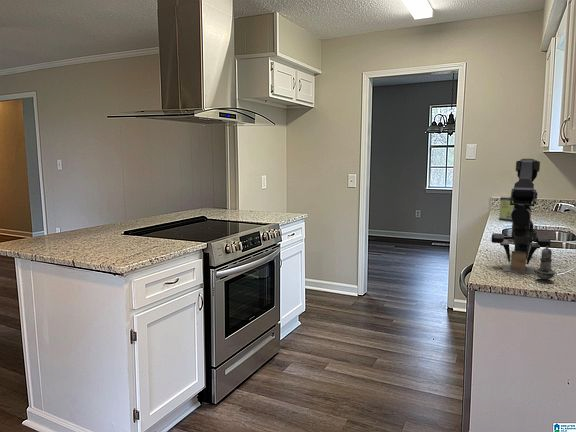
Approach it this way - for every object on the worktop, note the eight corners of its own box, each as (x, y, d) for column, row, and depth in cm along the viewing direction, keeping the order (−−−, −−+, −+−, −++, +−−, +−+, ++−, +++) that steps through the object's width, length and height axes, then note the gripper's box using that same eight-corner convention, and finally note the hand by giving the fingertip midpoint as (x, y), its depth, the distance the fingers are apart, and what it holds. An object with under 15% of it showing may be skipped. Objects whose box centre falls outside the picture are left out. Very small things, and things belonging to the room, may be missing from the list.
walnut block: (510, 266, 165) (511, 250, 165) (524, 267, 164) (525, 251, 163) (511, 269, 161) (512, 253, 161) (525, 270, 160) (526, 254, 159)
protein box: (508, 219, 303) (509, 196, 301) (530, 222, 289) (532, 198, 287) (498, 220, 298) (500, 197, 296) (520, 223, 284) (522, 198, 282)
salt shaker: (547, 279, 150) (550, 244, 149) (558, 283, 144) (561, 247, 143) (530, 279, 150) (533, 244, 148) (540, 284, 144) (543, 247, 142)
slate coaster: (502, 265, 169) (502, 264, 169) (531, 268, 165) (531, 267, 165) (503, 271, 160) (503, 270, 160) (534, 274, 156) (534, 273, 156)
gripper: (493, 222, 157) (490, 265, 159) (554, 225, 149) (550, 270, 151) (492, 218, 167) (490, 258, 169) (549, 221, 159) (546, 263, 161)
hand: (518, 263), depth 162 cm, fingers open, 6 cm apart
